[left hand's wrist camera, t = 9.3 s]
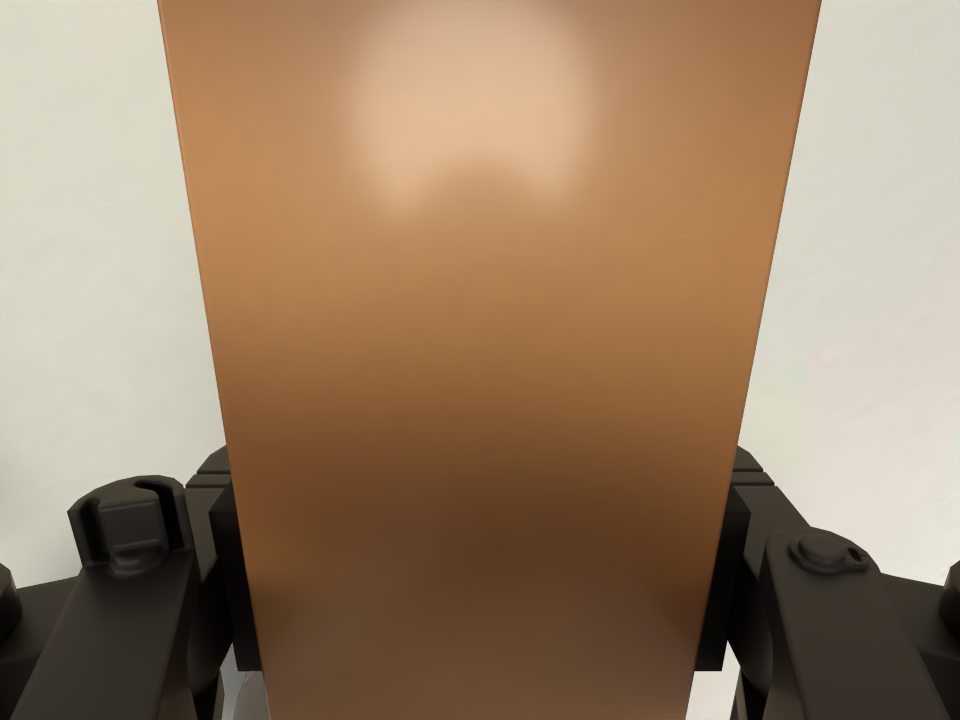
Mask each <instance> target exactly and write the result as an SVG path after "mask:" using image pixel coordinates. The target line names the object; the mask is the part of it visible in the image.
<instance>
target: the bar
mask: <svg viewBox="0 0 960 720" xmlns="http://www.w3.org/2000/svg"><path fill="white" fill-rule="evenodd" d="M821 1H822V0H157V3H158V10H159V16H160V23H161V29H162V35H163V42H164V48H165V55H166V61H167V67H168V74H169V80H170V87H171V93H172V99H173V106H174V112H175V119H176V125H177V131H178V138H179V144H180V151H181V157H182V163H183V170H184V176H185V182H186V189H187V195H188V202H189V208H190V214H191V221H192V227H193V234H194V240H195V246H196V253H197V259H198V266H199V272H200V278H201V285H202V291H203V298H204V304H205V310H206V317H207V323H208V330H209V336H210V342H211V349H212V355H213V362H214V368H215V374H216V381H217V387H218V393H219V400H220V406H221V413H222V419H223V425H224V432H225V438H226V445H227V451H228V457H229V464H230V470H231V477H232V483H233V489H234V496H235V502H236V509H237V515H238V521H239V528H240V534H241V541H242V547H243V553H244V560H245V566H246V572H247V579H248V585H249V592H250V598H251V604H252V611H253V617H254V624H255V630H256V636H257V643H258V649H259V656H260V662H261V668H262V675H263V681H264V688H265V694H266V700H267V707H268V713H269V720H685V718H686V713H687V708H688V703H689V697H690V692H691V687H692V682H693V676H694V671H695V666H696V660H697V655H698V650H699V645H700V639H701V634H702V629H703V624H704V618H705V613H706V608H707V602H708V597H709V592H710V587H711V581H712V576H713V571H714V565H715V560H716V555H717V550H718V544H719V539H720V534H721V529H722V523H723V518H724V513H725V507H726V502H727V497H728V492H729V486H730V481H731V476H732V471H733V465H734V460H735V455H736V449H737V444H738V439H739V434H740V428H741V423H742V418H743V413H744V407H745V402H746V397H747V391H748V386H749V381H750V376H751V370H752V365H753V360H754V355H755V349H756V344H757V339H758V333H759V328H760V323H761V318H762V312H763V307H764V302H765V297H766V291H767V286H768V281H769V275H770V270H771V265H772V260H773V254H774V249H775V244H776V238H777V233H778V228H779V223H780V217H781V212H782V207H783V202H784V196H785V191H786V186H787V180H788V175H789V170H790V165H791V159H792V154H793V149H794V144H795V138H796V133H797V128H798V122H799V117H800V112H801V107H802V101H803V96H804V91H805V86H806V80H807V75H808V70H809V64H810V59H811V54H812V49H813V43H814V38H815V33H816V28H817V22H818V17H819V12H820V6H821Z"/></svg>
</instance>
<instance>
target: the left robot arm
mask: <svg viewBox="0 0 960 720" xmlns="http://www.w3.org/2000/svg"><path fill="white" fill-rule="evenodd" d="M67 513H68V517H69V520H70V524H71V527H72V531H73V534H74V538H75V541H76V545H77V548H78V552H79V555H80V559H81V562H82V566H83V567H82V569H81V571H80V573H79V575H78V576H75V577H71V578H67V579H63V580H58V581H53V582H48V583H43V584H38V585H34V586H29V587H24V588H19V589H16V586H15V583H14V580H13V577H12V575H11V572H10V570H9V569H8V568H6V567H5V566H4V565H2V564H1V563H0V720H221V719H222V711H223V702H224V688H223V681H222V676H221V671H220V667H221V665H222V663H223V661H224V659H225V656H226V654H227V652H228V650H229V648H230V646H231V644H232V642H233V647H234V653H235V658H236V663H237V669H238V671H249V672H248V674H247V676H246V679H245V681H244V683H243V686H242V688H241V691H240V693H239V696H238V698H237V701H236V706H235V713H234V719H233V720H269V713H268V707H267V700H266V694H265V688H264V681H263V675H262V668H261V662H260V656H259V649H258V643H257V636H256V630H255V624H254V617H253V611H252V604H251V598H250V592H249V585H248V579H247V572H246V566H245V560H244V553H243V547H242V541H241V534H240V528H239V521H238V515H237V509H236V502H235V496H234V489H233V483H232V477H231V470H230V464H229V457H228V451H227V445H225V446H224V447H222V448H220V449H219V450H217V451H216V452H214V453H212V454H211V455H210V456H209V457H208V458H207V459H206V461H205V462H204V463H203V464H202V466H201V467H200V468H199V469H198V470H197V475H193V477H192V478H191V479H190V480H189V481H188V483H187V484H186V488H183V485H182V484H181V483H180V482H178V481H177V480H176V479H174V478H171V477H166V476H161V475H148V476H136V477H131V478H127V479H122V480H117V481H115V482H112V483H109V484H107V485H104V486H102V487H99V488H97V489H95V490H93V491H91V492H90V493H88V494H86V495H85V496H83V497H81V498H80V499H78V500H77V501H76V502H75V503H74V505H73V506H72V507H71V508H70V509H69V510H68V511H67ZM727 640H728V642H729V644H730V646H731V648H732V650H733V652H734V654H735V656H736V658H737V660H738V662H739V665H740V671H739V676H738V681H737V686H736V691H735V696H734V701H733V706H732V711H731V716H730V720H960V560H959V561H958V562H957V563H955V564H954V565H953V566H951V567H950V570H949V573H948V576H947V579H946V582H945V585H944V586H940V585H935V584H930V583H925V582H920V581H915V580H911V579H906V578H901V577H896V576H891V575H888V574H884V573H881V572H880V570H879V568H878V566H877V564H876V563H875V562H874V560H873V559H872V558H871V557H870V555H869V554H868V553H867V552H866V551H865V550H863V549H862V548H860V547H859V546H858V545H856V544H855V543H853V542H852V541H850V540H848V539H846V538H844V537H842V536H839V535H837V534H835V533H833V532H830V531H826V530H822V529H818V528H814V527H810V525H809V524H808V523H807V522H806V521H805V519H804V518H803V517H802V516H801V514H800V513H799V512H798V511H797V510H796V508H795V507H794V506H793V505H792V504H791V502H790V501H789V500H788V499H787V497H786V496H785V495H784V494H783V493H782V491H781V490H780V489H779V488H778V487H777V486H774V482H773V480H772V479H771V478H770V477H769V476H768V474H767V473H766V472H763V468H762V467H761V466H760V465H759V463H758V462H757V461H756V460H755V459H754V457H753V456H752V455H751V454H750V453H749V452H748V451H746V450H744V449H743V448H741V447H739V446H738V445H737V449H736V455H735V460H734V465H733V471H732V476H731V481H730V486H729V492H728V497H727V502H726V507H725V513H724V518H723V523H722V529H721V534H720V539H719V544H718V550H717V555H716V560H715V565H714V571H713V576H712V581H711V587H710V592H709V597H708V602H707V608H706V613H705V618H704V624H703V629H702V634H701V639H700V645H699V650H698V655H697V660H696V666H695V671H722V666H723V661H724V656H725V650H726V645H727Z"/></svg>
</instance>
